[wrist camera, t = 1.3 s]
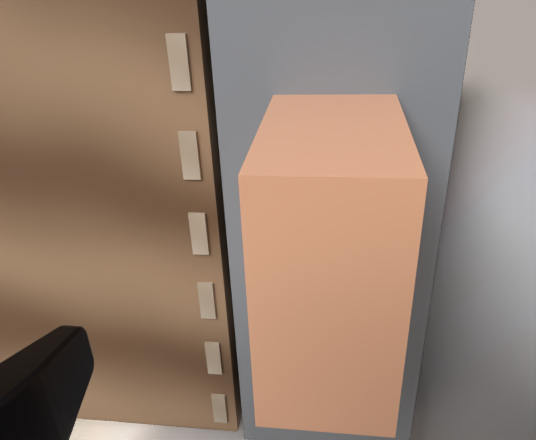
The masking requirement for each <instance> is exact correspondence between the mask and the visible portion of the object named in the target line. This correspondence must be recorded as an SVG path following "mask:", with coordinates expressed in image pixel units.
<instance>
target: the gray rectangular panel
mask: <svg viewBox="0 0 536 440" xmlns="http://www.w3.org/2000/svg"><path fill="white" fill-rule="evenodd" d="M474 4H475V0H206V5H207V16H208V28H209V39H210V51H211V62H212V74H213V85H214V97H215V108H216V120H217V131H218V143H219V154H220V166H221V177H222V188H223V200H224V211H225V223H226V234H227V246H228V257H229V269H230V280H231V292H232V303H233V315H234V326H235V338H236V349H237V361H238V372H239V384H240V395H241V407H242V418H243V429H244V439H252V440H410V435H411V428H412V422H413V415H414V408H415V401H416V395H417V388H418V381H419V374H420V368H421V361H422V354H423V348H424V341H425V334H426V327H427V321H428V314H429V307H430V300H431V294H432V287H433V280H434V273H435V267H436V260H437V253H438V247H439V240H440V233H441V226H442V220H443V213H444V206H445V199H446V193H447V186H448V179H449V172H450V166H451V159H452V152H453V145H454V139H455V132H456V125H457V119H458V112H459V105H460V98H461V92H462V85H463V78H464V71H465V65H466V58H467V51H468V44H469V38H470V31H471V24H472V17H473V10H474Z"/></svg>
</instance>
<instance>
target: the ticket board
mask: <svg viewBox="0 0 536 440" xmlns="http://www.w3.org/2000/svg"><path fill="white" fill-rule="evenodd" d="M62 325H73V326H81V327H84V328H85V330H86V332H87V335H88V339H89V342H90V346H91V350H92V354H93V357H94V369H93V373H92V376H91V379H90V382H89V385H88V388H87V390H86V393H85V396H84V399H83V402H82V404H81V407H80V410H79V413H78V416H77V418H80V419H93V420H105V421H117V422H129V423H141V424H153V425H165V426H177V427H190V428H202V429H214V430H226V431H238V428H239V424H240V419H241V414H242V407H241V395H240V384H239V372H238V361H237V349H236V338H235V326H234V315H233V303H232V292H231V280H230V269H229V257H228V246H227V234H226V223H225V211H224V200H223V188H222V177H221V166H220V154H219V143H218V131H217V120H216V108H215V97H214V85H213V74H212V62H211V51H210V39H209V28H208V16H207V5H206V0H0V363H1V362H2V361H4V360H6V359H7V358H9V357H10V356H12V355H14V354H15V353H17V352H19V351H20V350H22V349H23V348H25V347H27V346H28V345H30V344H31V343H33V342H35V341H36V340H38V339H40V338H41V337H43V336H44V335H46V334H48V333H49V332H51V331H53V330H54V329H56V328H57V327H59V326H62Z"/></svg>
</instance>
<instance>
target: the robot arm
mask: <svg viewBox="0 0 536 440" xmlns="http://www.w3.org/2000/svg"><path fill="white" fill-rule="evenodd" d="M93 369H94V357H93V354H92V350H91V346H90V342H89V339H88V335H87V332H86V330H85V328H84V327H81V326H73V325H62V326H59V327H57V328H56V329H54V330H53V331H51V332H49V333H48V334H46V335H44V336H43V337H41V338H40V339H38V340H36V341H35V342H33V343H31V344H30V345H28V346H27V347H25V348H23V349H22V350H20V351H19V352H17V353H15V354H14V355H12V356H10V357H9V358H7V359H6V360H4V361H2V362H1V363H0V440H69V438H70V436H71V433H72V430H73V427H74V424H75V421H76V419H77V416H78V413H79V410H80V407H81V404H82V402H83V399H84V396H85V393H86V390H87V388H88V385H89V382H90V379H91V376H92V373H93Z"/></svg>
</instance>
